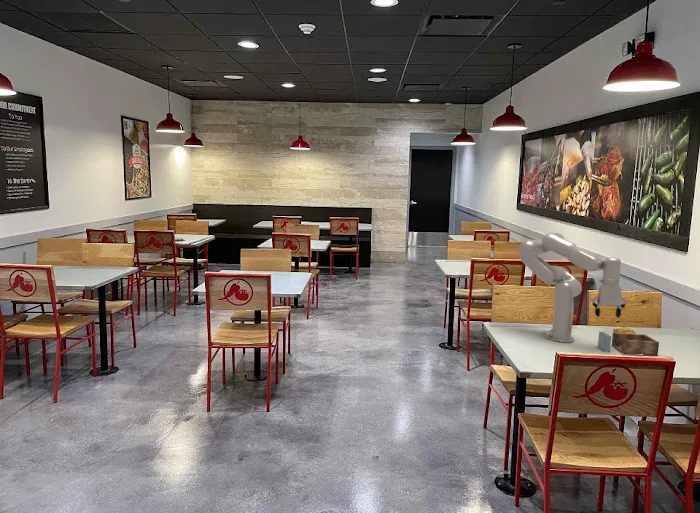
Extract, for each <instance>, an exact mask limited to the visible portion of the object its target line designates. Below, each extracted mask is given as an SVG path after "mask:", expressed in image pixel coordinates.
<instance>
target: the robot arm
mask: <svg viewBox="0 0 700 513" xmlns="http://www.w3.org/2000/svg"><path fill="white" fill-rule="evenodd" d="M548 252H553V253H555V254H557V255H559V256H561V257H564V258H566V259H567V261H569V262H570V263H571V264H573V265H574V266H577V267H578V268H581V270H582V269H583V270H585V271H587V272H592V273H593V272H598V271H602V278H601V279H599V280H598V281H599V283H601V284H600V285H599V289H598V292H597V296H595V297H592V298H590V302H591V304H592V306H593V307H594V308H595V310H594V314H595V316H596V317H598V318H599V317H601V316H600V314H601V309H600V308H601V307H602V306H604V307H616V309H615V310H616V311H615V317H617V318H620V317H621V315H622V310H623V309H624V308H625V307H626V306H627V304H628V300H626V299H625V298H623V296H622V286H621V285H620V276H621V265H622V261H621V259H620V258H618V257H611V256H610V257H609V256H608V257H607V256H605V255H604V256H603V255H589V254H588V253H585V252H583V251H581V250H580V249H579V248H578V247H577V245H576V243H575V242H572V241H570V240H567V239H566V238H565V237H564V235H562V234H561V233H558V232H549V233H546V234H545V235H543V237H540V238H537V239H527V240H524V241H522V242H521V244H520V245H519V248H518V256H519V259H520V261H521V262H522V263H523V265H525V266H526V268H528V269H529V270H530V271H531V272H532V273H534V275H536V276H537V277H538V278H539V279H540V280H541V281H543V283H545V284H546V285H555V286H554V289H553V297H554V298H553V299H554V302H553V304H554V305H553V316H552V317H553V318H552V328H550V330H542V335H546V336H548V339H549V340H551V341H554V342H558V341H559V342H558V343H573V342H575V338H574V337H572V332H573V331H572V330H573V322H574V321H573V320H574V319H573V318H574V310H575V306H574V304H575V302H574V298H575V297H578V296H579V295H580V294H581V293H582V290H583V286H582V284H581V282H580V281H579V280H578V279H577V278H576V277H575V276H573V275H572V274H571V273H570V272H569V271H567V269H564V268H563V267H561V266H558V265H555V266H552V265H550V264H549V263H548V262H546V261H545V259H543V258H541V257H539V255H542V254H545V253H548ZM596 301H597V302H596Z"/></svg>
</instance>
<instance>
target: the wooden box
mask: <svg viewBox="0 0 700 513" xmlns="http://www.w3.org/2000/svg"><path fill="white" fill-rule="evenodd" d="M612 346H613V349H615V350H616V349H617V351H618V352H619V353H621V354H622V353H623V354H622V355H626V354H643V355H641V357H642V356H645V357H646V356H647V357H658V355H659V348H660V347H659V346H660V342H659V341H657V340H655V339H654V338H653V337H651V336H649V335H647V334H639V333H636V334H626V333H614V332H612V336H611V347H612Z"/></svg>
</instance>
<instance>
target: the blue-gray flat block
mask: <svg viewBox="0 0 700 513" xmlns="http://www.w3.org/2000/svg"><path fill="white" fill-rule="evenodd" d="M611 346H612V336H611V335H610V334H609V333H607V332H605V331H602V330H601V331H598V341H597V347H598V348H599V349H601V350H602V351H603V352H604V353H610V352H611Z"/></svg>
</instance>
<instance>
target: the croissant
mask: <svg viewBox="0 0 700 513" xmlns="http://www.w3.org/2000/svg"><path fill="white" fill-rule="evenodd" d="M612 333H626V334H637V333H636V332H635V330H633V329H632V328H630V327H628V326H623V327H620V328H613V330H612Z"/></svg>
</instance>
